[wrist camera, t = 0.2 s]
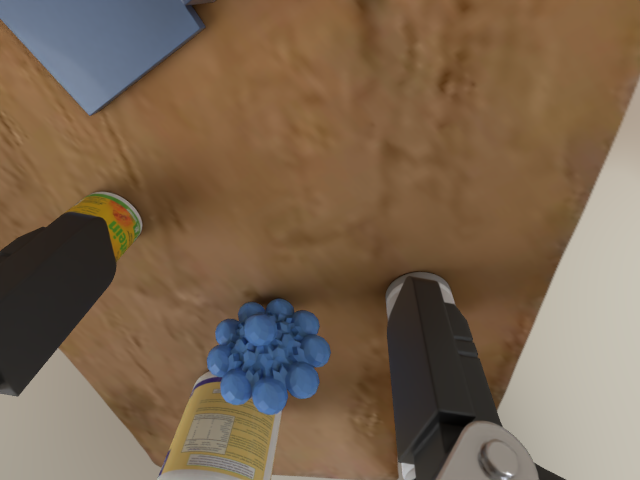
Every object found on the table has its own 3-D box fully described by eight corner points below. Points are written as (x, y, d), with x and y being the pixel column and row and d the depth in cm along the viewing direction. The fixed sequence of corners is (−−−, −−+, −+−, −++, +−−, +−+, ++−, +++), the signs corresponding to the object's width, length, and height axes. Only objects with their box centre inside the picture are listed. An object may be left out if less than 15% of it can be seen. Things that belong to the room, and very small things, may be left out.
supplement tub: (181, 366, 45) (107, 527, 32) (268, 359, 43) (227, 531, 29) (219, 414, 52) (171, 564, 39) (296, 410, 50) (273, 569, 36)
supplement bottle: (150, 241, 33) (87, 320, 25) (96, 237, 33) (17, 314, 26) (134, 191, 30) (56, 264, 22) (75, 187, 30) (-23, 257, 22)
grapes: (328, 266, 33) (317, 381, 24) (337, 314, 37) (330, 429, 27) (214, 273, 35) (161, 383, 25) (234, 318, 39) (194, 428, 29)
